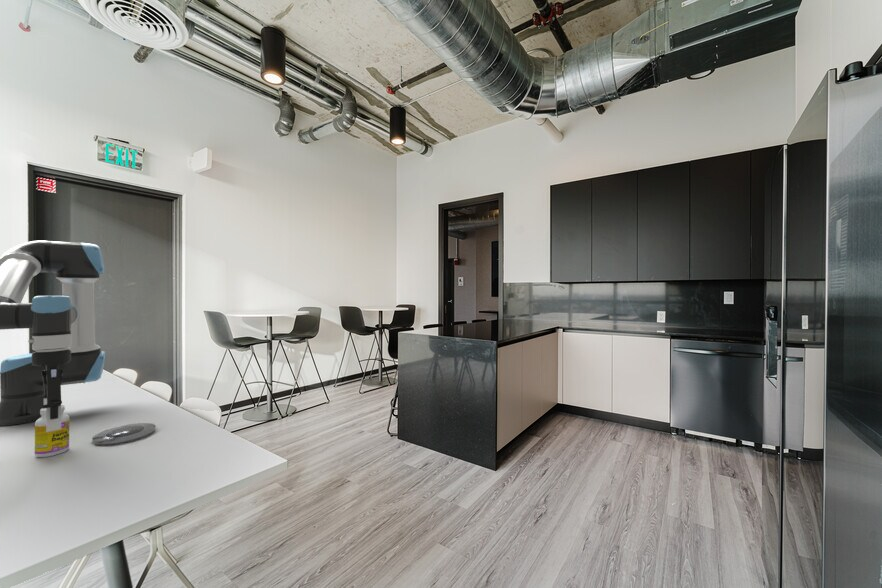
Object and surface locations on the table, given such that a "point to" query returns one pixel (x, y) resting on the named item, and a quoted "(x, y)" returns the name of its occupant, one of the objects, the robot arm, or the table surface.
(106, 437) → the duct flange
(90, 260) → the robot arm
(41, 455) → the supplement bottle
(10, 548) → the table surface
